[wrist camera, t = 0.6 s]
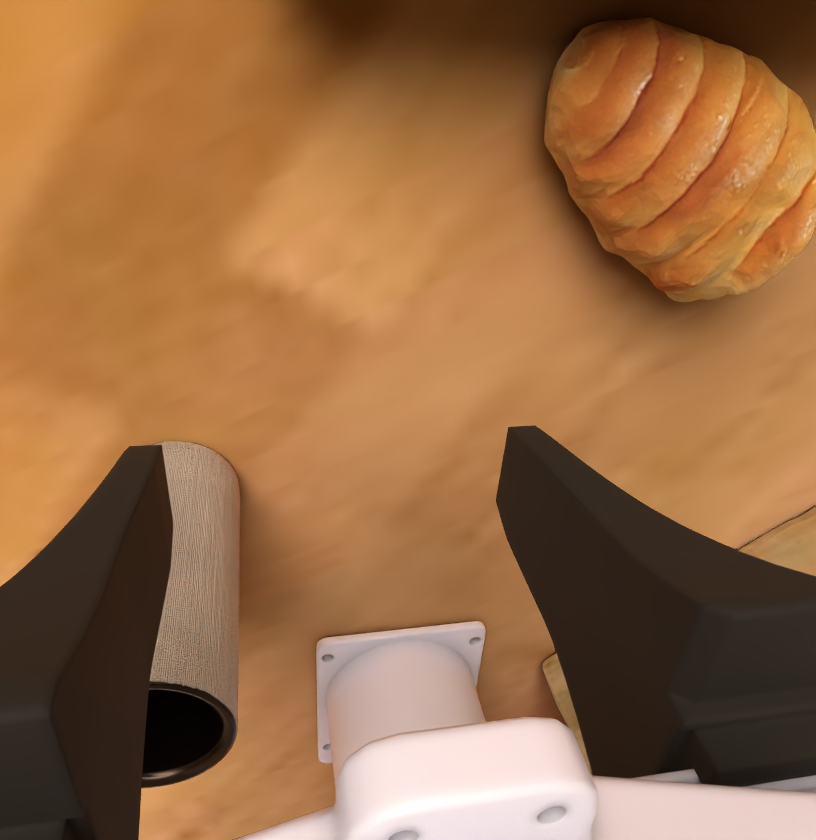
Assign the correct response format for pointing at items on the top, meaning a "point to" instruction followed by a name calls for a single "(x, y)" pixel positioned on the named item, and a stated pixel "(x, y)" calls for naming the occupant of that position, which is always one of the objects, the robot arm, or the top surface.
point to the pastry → (683, 156)
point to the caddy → (785, 545)
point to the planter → (196, 622)
